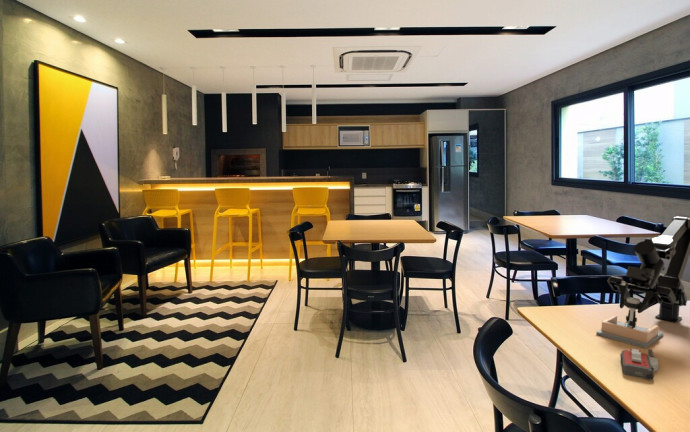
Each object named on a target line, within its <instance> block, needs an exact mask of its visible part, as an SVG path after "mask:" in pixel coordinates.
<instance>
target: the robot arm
mask: <svg viewBox="0 0 690 432" xmlns="http://www.w3.org/2000/svg"><path fill="white" fill-rule="evenodd" d="M633 250H634V252H635V255H636V256H637V257H636V258H637V259H638V262H640V263H641V265H640V267H633V266H628V268H627V269H626V273H625V277H629V279H628V280H629V282H631V283H628V282H627V281H625V280H624V278H623V277H620V276H616V275H615V276H614V275H612V276H609V278H608V279H607V283H608V285H609V287H610V288H611V290H613V291H615V292H618V293H619V308H620V309H623V308H624V307H626V306H625V305H624V300H625V299H627V298H628V297H632V296H631V294H630V290H631V291H634V292H639V293H644V294H645V295H644V297H643V299H642V301H641V302H642V303H641V305H640V306H639V308H638V310H637V311H636V313H638V314H640V313H643V312H645V311H646V310H648V309H649V308H650V307H653V306H655V305H657V304H659V312H658V314H657V315H655V317H654V318H655V319H659V320H664V321H669V322H673V323H678V322H680V321H681V320H682V319H683V317H682V316H679V315H680V307H682V306H683V307H684V306H685V307H687V303H688V296H687V294H686V291H685V286H684V284H683V281H682V278H683V275H684V272H685V269H686V267H687V265H688V264H687V263H688V260H689V258H690V217H689V216H688V217H685V216H674V217H673V218H672V219H671V223H670V224H669V225H668V226H667V227H666V229H665V230H664V231H663V232H662V233H661V235H660V236H656V237H653V238H651V239H650V238H645V239H644V240H643V241H640V242H637V243H636V244H634V246H633ZM664 260H668V261H669V260H670V261H669V264H668V267H667V269H666V268H665V265H666V264H665V261H664ZM665 269H666V273H664V274H662V275H661V273H662V272H663V271H665Z"/></svg>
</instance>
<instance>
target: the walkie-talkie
mask: <svg viewBox="0 0 690 432" xmlns="http://www.w3.org/2000/svg"><path fill="white" fill-rule="evenodd" d="M647 353H648V354H647ZM647 353H643V352H641V350H640V349H637V348H630V350H626V349H624V350H621V353H620V354H619V355H620V356H619V357H620V361H621V363H620V364H621V371H622V373H621V374H624V375H625V376H631V377H636V378H641V379H644V380H653V379H654V378H655V377H654V372H658V371H659V360H658V359H659V358H658V357H657V358H656V357H655V355H654V352H653V350H652V349H651V348H649V349H648V350H647Z"/></svg>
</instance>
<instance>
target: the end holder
mask: <svg viewBox="0 0 690 432" xmlns="http://www.w3.org/2000/svg"><path fill="white" fill-rule="evenodd" d="M595 333H596V336H601V337H603V338H608V339H610V340H615V341H618V342H622V343H625V344H627V345H632V346H635V347H638V348H643V349H647V348H648V347H650V346H651V345H652V344H654V343H655V342H656V341H658V340H659V339H660V338H662V337H663V336H664V332H663V331H659V325H657V324H654V325H652V326H651V327H650V328H647V327H642V326H639V325H635V328H633V329H632V328H628V327H627V323H626V326H625V322H622V321H618V315H617V314H616V315H615V314H613V315H612V316H609V317H608V318H606V319H605V320H603V321H601V329H598V330H597V331H596V332H595Z"/></svg>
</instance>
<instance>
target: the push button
mask: <svg viewBox="0 0 690 432" xmlns="http://www.w3.org/2000/svg"><path fill="white" fill-rule="evenodd" d="M641 303H642V301H641V299H639V298H638V297H637V298H636V297H632V296H630V297H628V298H627V299H625V300H624V305H625V306H624V307H626V308H628V314H627V315H626V316H625V322H624V323H625V326H626V323H627V327H628V328H632V329H633V328H635V326H637V322H638V317H637V316H636V313H637V311H638V308H639V306H640V305H641ZM636 310H637V311H636Z"/></svg>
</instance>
